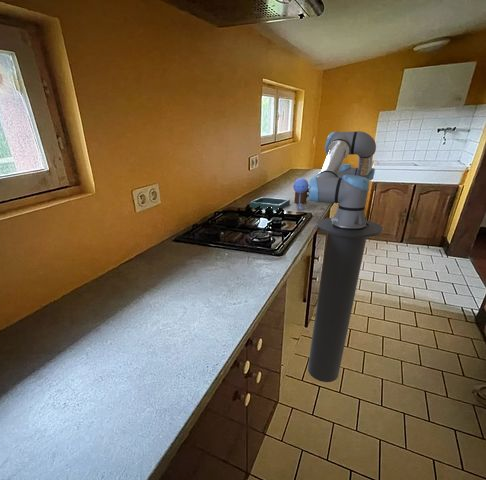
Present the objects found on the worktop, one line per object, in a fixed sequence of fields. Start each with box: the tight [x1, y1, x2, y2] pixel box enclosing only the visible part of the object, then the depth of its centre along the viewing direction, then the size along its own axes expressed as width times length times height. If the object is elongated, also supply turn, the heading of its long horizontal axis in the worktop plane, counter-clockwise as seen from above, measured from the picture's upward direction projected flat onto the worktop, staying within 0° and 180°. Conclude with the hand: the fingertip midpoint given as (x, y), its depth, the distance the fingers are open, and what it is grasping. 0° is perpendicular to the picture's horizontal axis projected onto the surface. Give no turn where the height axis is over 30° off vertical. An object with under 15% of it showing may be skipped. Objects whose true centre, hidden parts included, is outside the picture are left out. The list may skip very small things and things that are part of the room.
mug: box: [293, 189, 309, 205], centre depth 195 cm, size 12×8×9 cm, turn 73°
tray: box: [249, 196, 291, 211], centre depth 192 cm, size 20×18×3 cm
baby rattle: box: [292, 177, 309, 211], centre depth 177 cm, size 9×9×18 cm
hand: (306, 193), depth 196 cm, fingers open, 13 cm apart
